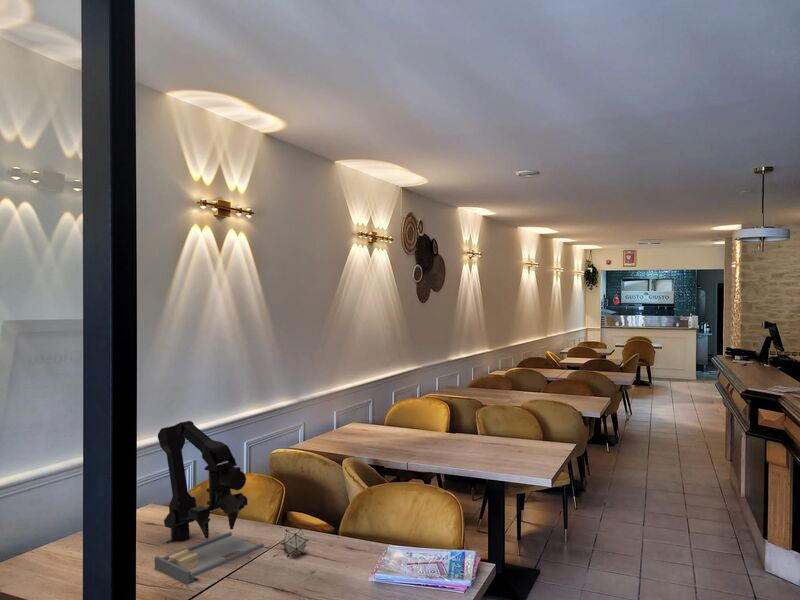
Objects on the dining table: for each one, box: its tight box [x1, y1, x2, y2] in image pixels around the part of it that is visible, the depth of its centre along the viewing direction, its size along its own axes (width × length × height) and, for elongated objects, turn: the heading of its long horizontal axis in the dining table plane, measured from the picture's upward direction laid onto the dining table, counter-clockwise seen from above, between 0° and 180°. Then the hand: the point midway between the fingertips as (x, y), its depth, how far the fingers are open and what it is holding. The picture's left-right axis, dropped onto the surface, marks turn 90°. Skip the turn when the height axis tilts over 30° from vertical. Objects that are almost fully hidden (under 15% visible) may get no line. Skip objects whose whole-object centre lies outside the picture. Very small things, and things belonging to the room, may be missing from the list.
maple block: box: [168, 548, 198, 570], centre depth 179 cm, size 6×6×4 cm
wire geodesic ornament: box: [280, 526, 309, 558], centre depth 190 cm, size 9×8×10 cm
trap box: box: [154, 531, 264, 585], centre depth 187 cm, size 18×28×4 cm, turn 142°
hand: (219, 533), depth 189 cm, fingers open, 9 cm apart
